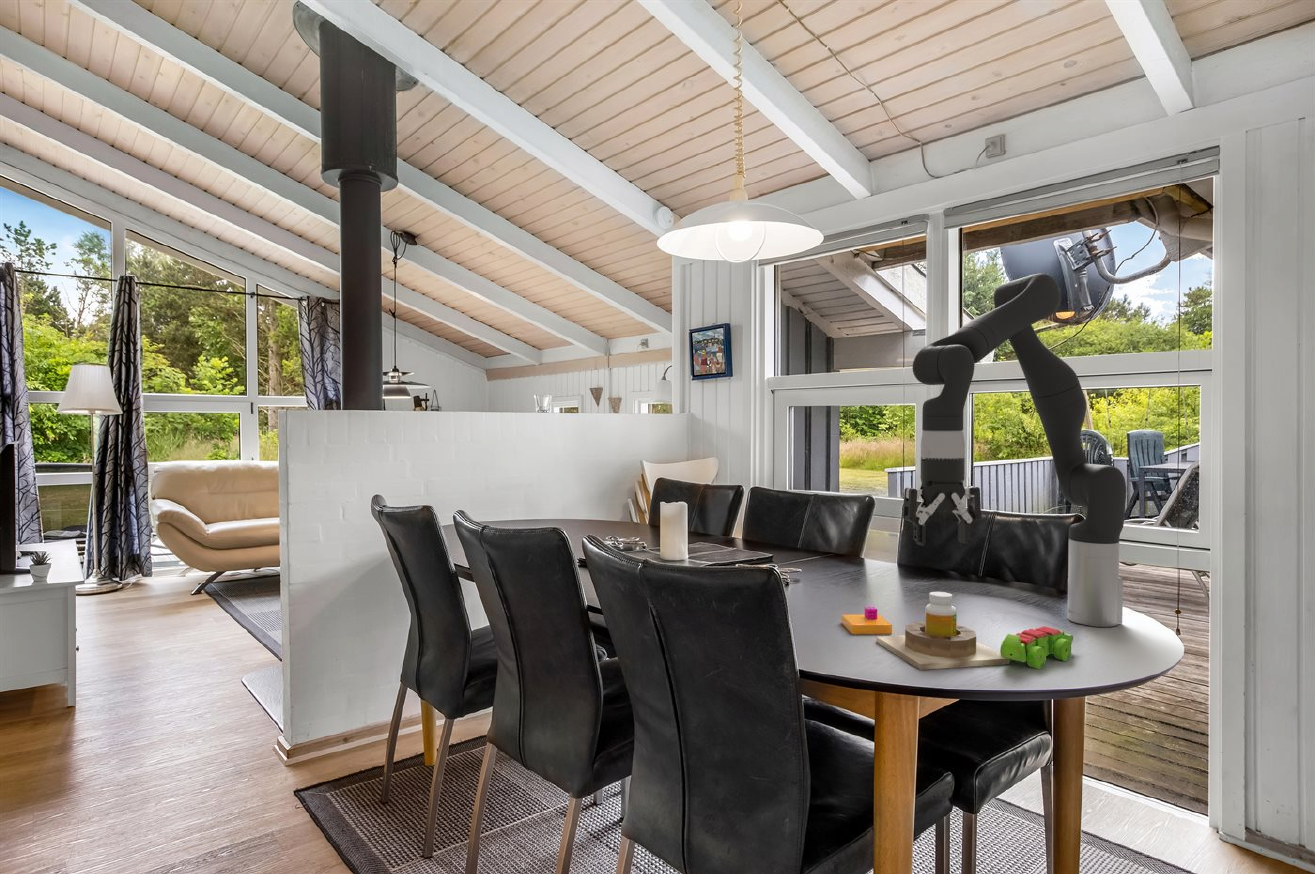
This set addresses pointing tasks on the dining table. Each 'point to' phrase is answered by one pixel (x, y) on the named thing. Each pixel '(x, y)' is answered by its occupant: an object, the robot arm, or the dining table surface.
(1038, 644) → the toy crocodile
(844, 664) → the dining table surface
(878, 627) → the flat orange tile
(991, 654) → the flat beige square board
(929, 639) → the wooden ring
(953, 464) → the robot arm
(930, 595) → the supplement bottle
